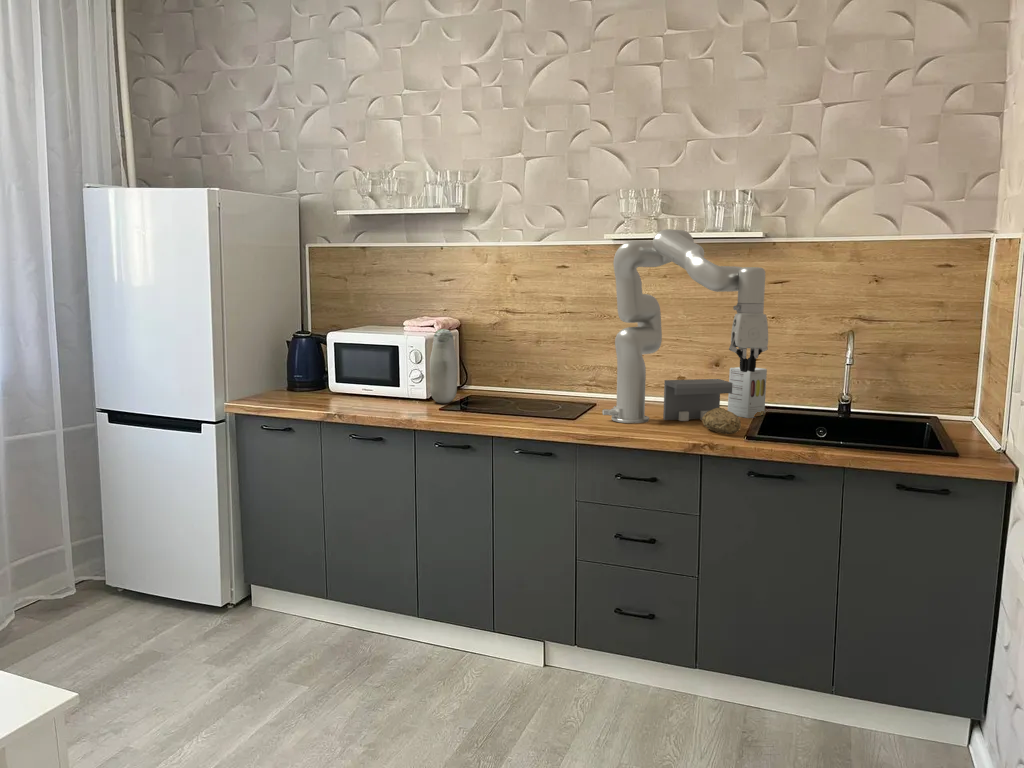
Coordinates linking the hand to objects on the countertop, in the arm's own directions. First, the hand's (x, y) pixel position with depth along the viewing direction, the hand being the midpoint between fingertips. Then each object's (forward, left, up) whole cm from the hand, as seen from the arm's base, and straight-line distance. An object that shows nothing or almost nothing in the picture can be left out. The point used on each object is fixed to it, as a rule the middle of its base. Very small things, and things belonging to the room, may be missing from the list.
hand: (747, 371), depth 249 cm
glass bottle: (-79, +85, -21) cm, 118 cm away
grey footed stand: (0, +34, -21) cm, 40 cm away
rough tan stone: (+1, +16, -22) cm, 27 cm away
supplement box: (+22, +40, -21) cm, 50 cm away
